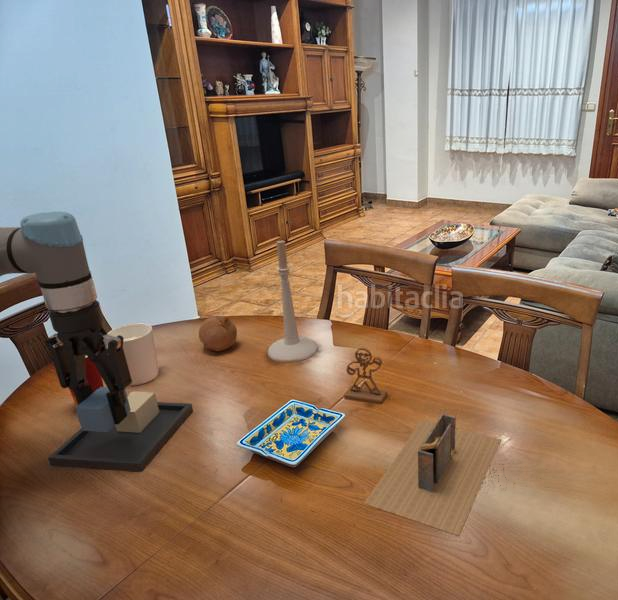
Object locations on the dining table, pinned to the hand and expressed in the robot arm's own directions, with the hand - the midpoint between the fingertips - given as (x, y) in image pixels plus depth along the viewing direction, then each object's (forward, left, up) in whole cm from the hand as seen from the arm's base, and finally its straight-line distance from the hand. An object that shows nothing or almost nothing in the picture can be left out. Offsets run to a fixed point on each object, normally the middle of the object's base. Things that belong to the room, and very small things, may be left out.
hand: (106, 419), depth 96 cm
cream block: (0, +8, -6) cm, 10 cm away
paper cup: (-15, +14, -7) cm, 22 cm away
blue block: (0, 0, 0) cm, 0 cm away
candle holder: (-11, +26, -7) cm, 29 cm away
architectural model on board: (+62, 0, -7) cm, 62 cm away
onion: (+2, +42, -7) cm, 43 cm away
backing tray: (0, +4, -7) cm, 8 cm away
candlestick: (+22, +42, -7) cm, 48 cm away
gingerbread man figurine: (+45, +22, -7) cm, 50 cm away
